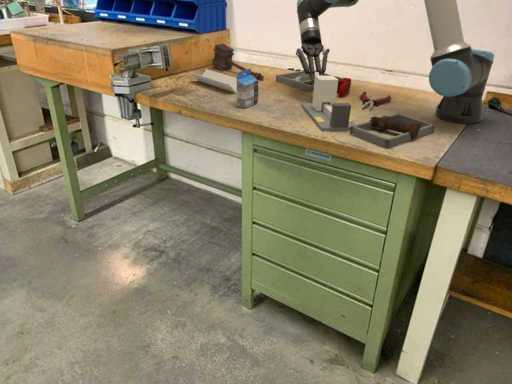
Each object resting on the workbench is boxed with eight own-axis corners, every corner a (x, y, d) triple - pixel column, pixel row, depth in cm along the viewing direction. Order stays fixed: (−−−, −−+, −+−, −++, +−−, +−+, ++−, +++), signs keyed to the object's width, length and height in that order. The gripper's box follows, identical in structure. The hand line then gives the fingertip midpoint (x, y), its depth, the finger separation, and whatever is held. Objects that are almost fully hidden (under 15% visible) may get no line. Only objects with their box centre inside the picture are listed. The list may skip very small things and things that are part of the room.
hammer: (221, 63, 207) (224, 43, 201) (266, 90, 190) (270, 69, 184) (211, 64, 203) (213, 44, 197) (255, 92, 186) (259, 71, 180)
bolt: (370, 131, 136) (415, 141, 128) (365, 127, 132) (411, 137, 124) (376, 114, 136) (422, 123, 127) (371, 109, 132) (418, 119, 123)
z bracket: (206, 89, 186) (214, 77, 186) (244, 102, 170) (252, 89, 171) (190, 72, 176) (198, 60, 177) (228, 84, 161) (237, 71, 161)
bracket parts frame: (346, 85, 182) (347, 79, 181) (310, 92, 170) (310, 86, 169) (311, 74, 197) (311, 69, 196) (275, 80, 185) (275, 75, 184)
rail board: (301, 106, 153) (303, 84, 149) (332, 105, 155) (335, 84, 151) (321, 131, 131) (324, 106, 127) (358, 130, 132) (362, 105, 129)
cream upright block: (312, 106, 149) (315, 75, 144) (329, 105, 150) (332, 75, 145) (316, 111, 144) (320, 79, 139) (334, 110, 145) (338, 79, 140)
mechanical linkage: (342, 98, 164) (343, 86, 161) (325, 95, 167) (326, 83, 165) (355, 90, 176) (357, 78, 174) (339, 87, 179) (340, 75, 177)
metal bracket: (323, 67, 187) (322, 74, 174) (325, 79, 190) (324, 88, 177) (292, 74, 191) (289, 81, 178) (295, 86, 194) (292, 95, 181)
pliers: (349, 109, 153) (350, 102, 151) (362, 96, 169) (363, 90, 167) (381, 115, 148) (382, 108, 147) (390, 101, 165) (392, 94, 163)
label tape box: (245, 108, 148) (246, 74, 142) (235, 106, 150) (236, 72, 144) (258, 103, 155) (259, 69, 149) (249, 101, 157) (250, 67, 151)
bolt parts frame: (433, 132, 133) (435, 124, 132) (386, 148, 120) (388, 140, 118) (396, 120, 142) (397, 113, 141) (349, 133, 129) (350, 126, 128)
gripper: (324, 40, 163) (332, 95, 156) (291, 40, 161) (298, 95, 154) (329, 28, 156) (338, 84, 149) (295, 27, 154) (303, 84, 147)
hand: (317, 90), depth 152 cm, fingers closed
